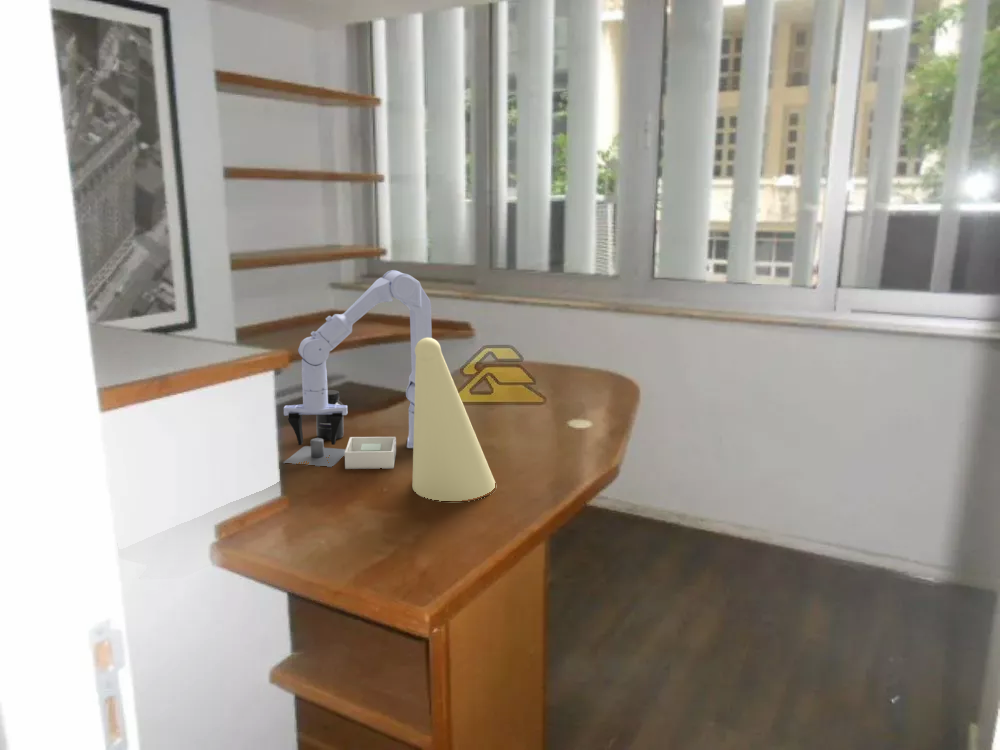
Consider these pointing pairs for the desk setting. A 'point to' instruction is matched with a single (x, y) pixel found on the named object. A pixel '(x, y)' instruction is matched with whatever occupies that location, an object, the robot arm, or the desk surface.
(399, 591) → the desk surface
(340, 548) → the desk surface
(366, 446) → the sage block
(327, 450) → the gray lid
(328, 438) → the supplement bottle
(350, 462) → the white open box
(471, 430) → the cone light
